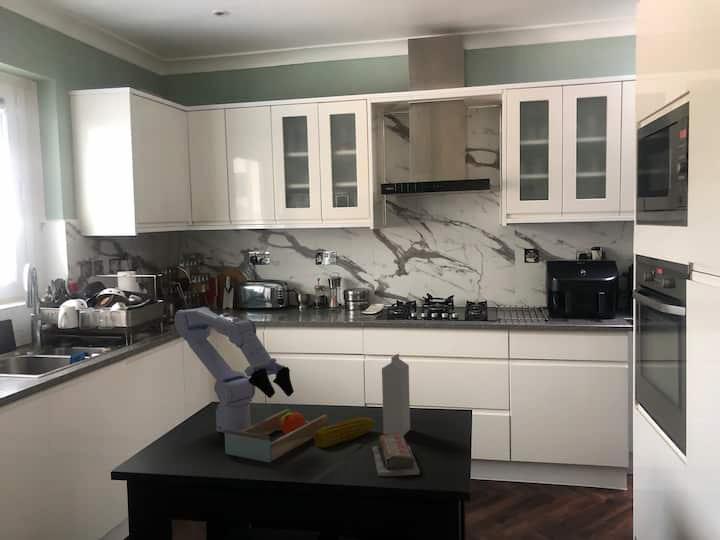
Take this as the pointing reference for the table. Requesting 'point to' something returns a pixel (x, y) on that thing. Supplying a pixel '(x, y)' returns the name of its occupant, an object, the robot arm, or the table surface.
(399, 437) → the packaged product
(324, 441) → the food
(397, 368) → the milk
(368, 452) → the table surface
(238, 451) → the panel
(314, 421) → the crate
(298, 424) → the clementine
